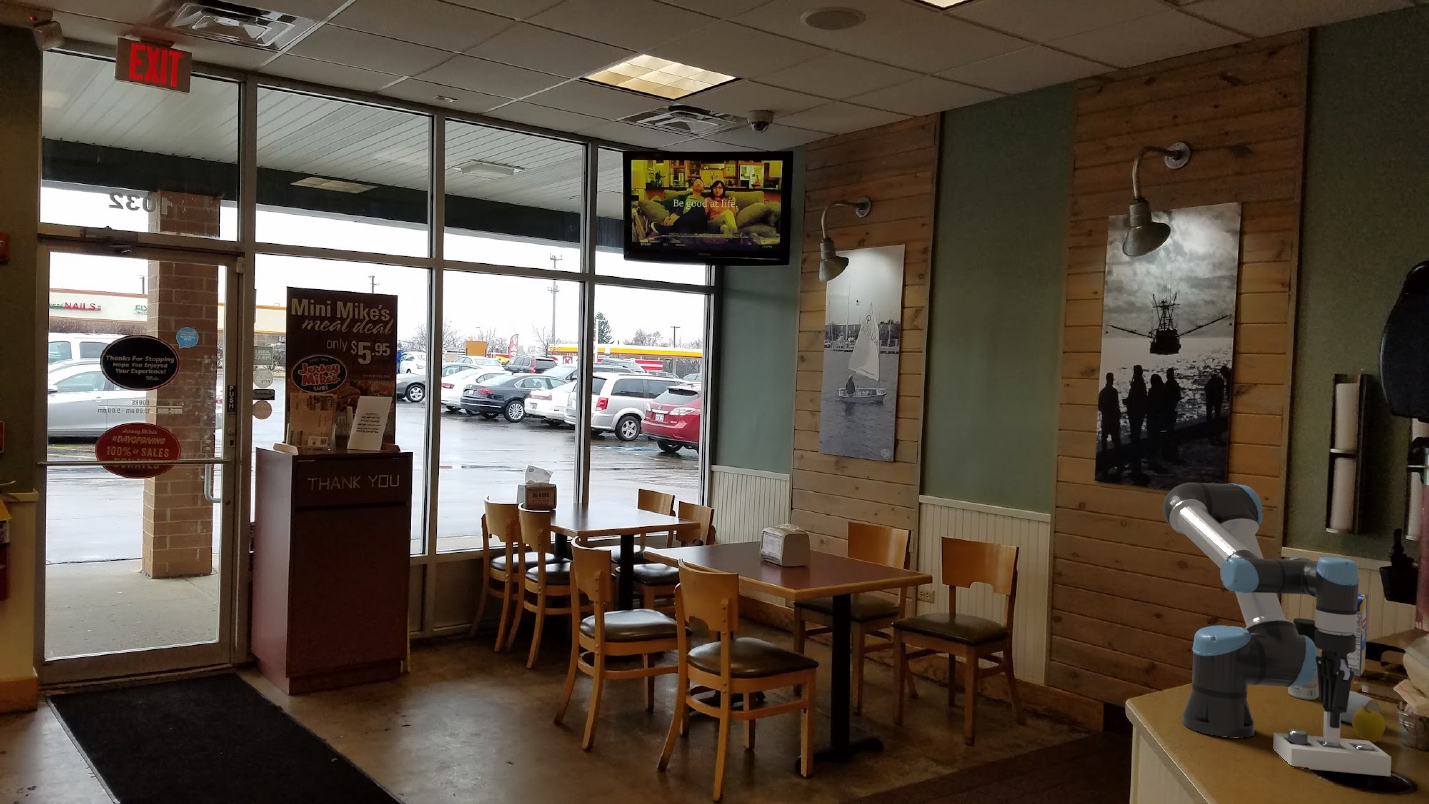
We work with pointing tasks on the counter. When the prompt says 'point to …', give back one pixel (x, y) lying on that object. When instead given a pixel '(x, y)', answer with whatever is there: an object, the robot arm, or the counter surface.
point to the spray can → (1311, 688)
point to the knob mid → (1330, 744)
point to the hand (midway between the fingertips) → (1331, 741)
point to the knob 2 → (1363, 747)
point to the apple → (1368, 724)
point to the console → (1333, 756)
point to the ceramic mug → (1358, 705)
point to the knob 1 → (1297, 737)
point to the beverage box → (1359, 638)
